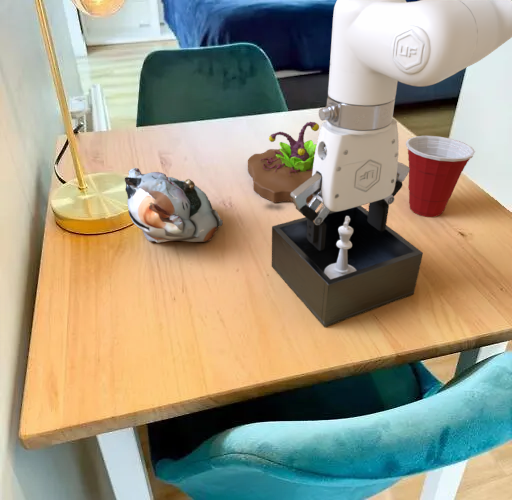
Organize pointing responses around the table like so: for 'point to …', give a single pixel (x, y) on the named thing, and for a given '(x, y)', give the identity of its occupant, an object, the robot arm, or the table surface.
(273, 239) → the dark grey open box
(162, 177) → the lucky cat figurine
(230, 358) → the table surface
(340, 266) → the chess piece
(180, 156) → the table surface
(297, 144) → the plant
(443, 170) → the plastic cup
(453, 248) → the table surface
